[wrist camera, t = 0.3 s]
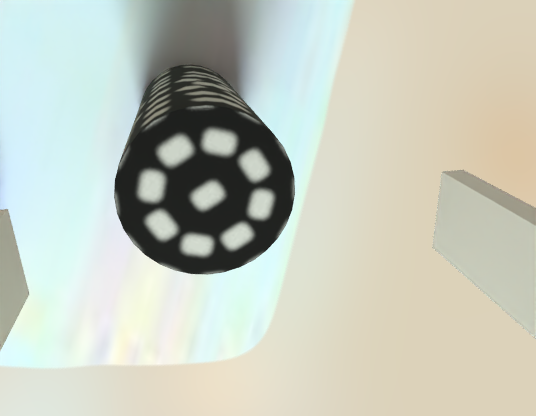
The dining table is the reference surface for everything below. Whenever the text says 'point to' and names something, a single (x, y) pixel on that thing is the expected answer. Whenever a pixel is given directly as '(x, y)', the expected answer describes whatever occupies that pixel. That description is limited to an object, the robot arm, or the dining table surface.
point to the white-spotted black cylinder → (201, 176)
